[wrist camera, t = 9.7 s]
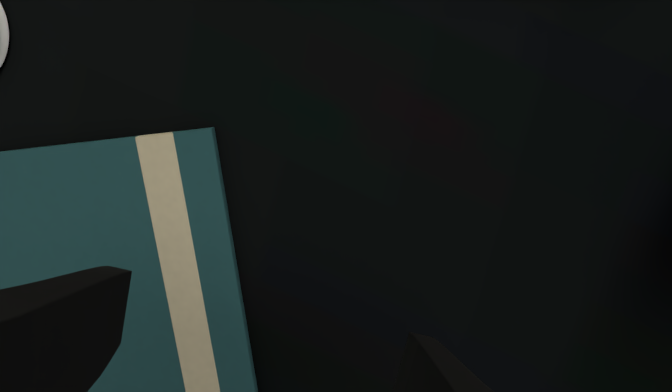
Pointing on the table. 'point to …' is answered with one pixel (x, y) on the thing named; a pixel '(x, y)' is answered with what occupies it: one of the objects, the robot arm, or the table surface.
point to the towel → (137, 251)
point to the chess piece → (3, 35)
